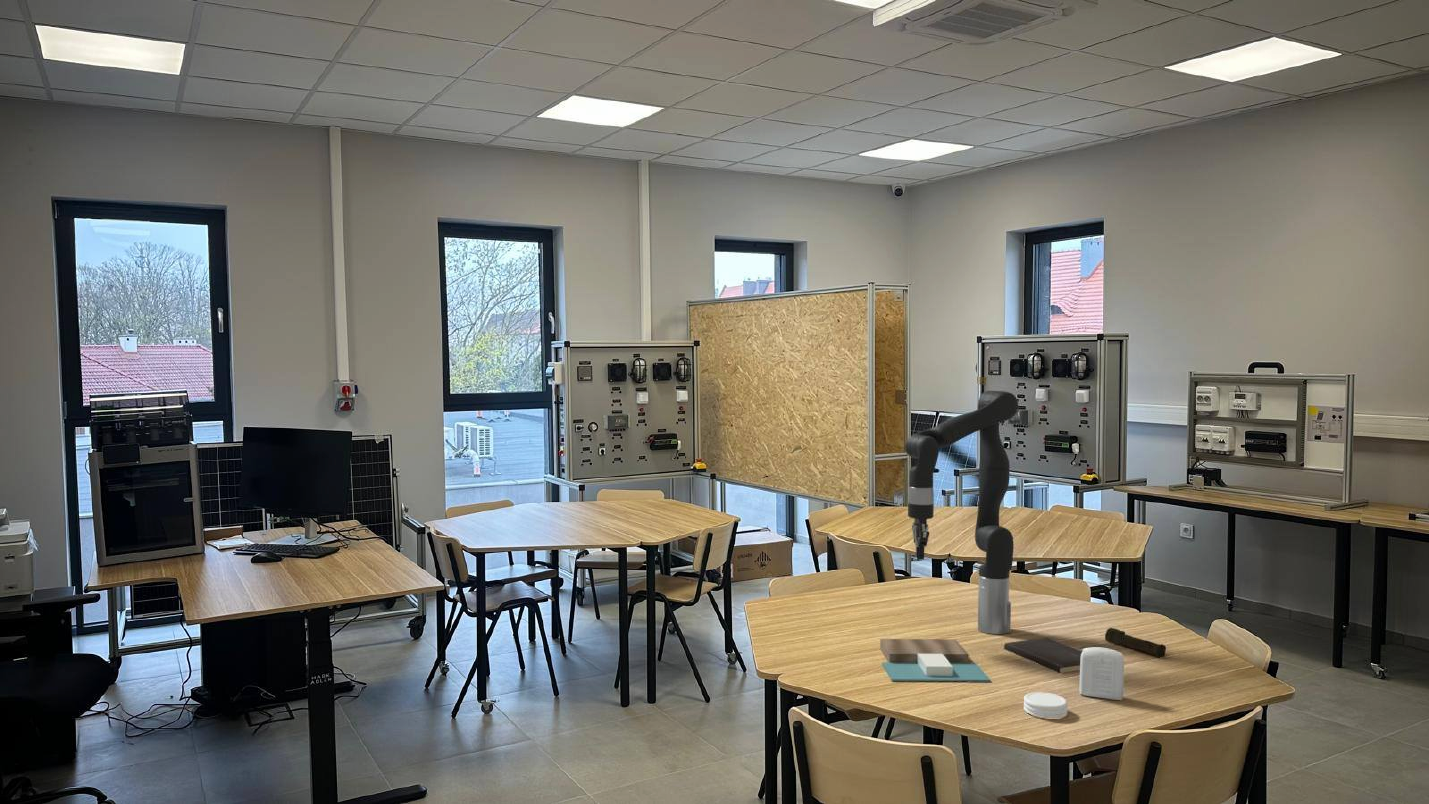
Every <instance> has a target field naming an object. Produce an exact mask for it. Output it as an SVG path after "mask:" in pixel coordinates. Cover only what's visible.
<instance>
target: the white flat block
mask: <svg viewBox="0 0 1429 804" xmlns="http://www.w3.org/2000/svg"><path fill="white" fill-rule="evenodd" d="M917 663H918V664H919V666H920V667H921V669H922V670H923V672H924V673H925V675H926V676H953V666H952V665H951V664H950V663H949V661H948V660H947V659H946V658H945V656H944V655H943V654H917Z"/></svg>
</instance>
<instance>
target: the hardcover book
mask: <svg viewBox="0 0 1429 804" xmlns="http://www.w3.org/2000/svg"><path fill="white" fill-rule="evenodd" d="M1003 649H1004V650H1006V651H1007V652H1010V653H1012V652H1013V654H1014V653H1015V654H1014V655H1017V656H1019V657H1021V658H1024V659H1025V660H1028V661H1031V662H1033V661H1034V662H1033V663H1035V662H1036V663H1035V664H1037V663H1038V665H1039V666H1042V667H1045V668H1047V669H1049V670H1051V669H1052V670H1051V671H1053V670H1054V672H1056V673H1057V674H1058V673H1059V674H1062V673H1068V672H1074V671H1080V658H1081V653H1082V652H1083V650H1080V649H1077V648H1075V647H1072V646H1070V645H1067V644H1065V643H1062V642H1059V641H1056V640H1054V639H1052V638H1049V637H1043V638H1036V639H1027V640H1019V641H1013V642H1011V641H1010V642H1005V644H1004V646H1003Z"/></svg>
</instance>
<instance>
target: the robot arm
mask: <svg viewBox="0 0 1429 804" xmlns="http://www.w3.org/2000/svg"><path fill="white" fill-rule="evenodd" d="M1018 409H1019V401H1018V399H1017V397H1016V396H1015V394H1013V393H1012V392H1009V391H1004V390H985V391H983V392H982V394H981V395H980V396H979V398H978V402H977V409H975V410H973V411H970V412H966V413H963V414H960V415H956V416H954V417H950V418H949V419H946V420H945V421H943V422H941V423H939V424H937V425H936V426H934V427H931V428H928V429H925V430H921V431H919V432H916V433H914V434H911V436H909V437H908V438H907V440H906V441H905V444H904V451H905V453H906V454H907V455H908V456H909V457H911V458H914V459H917V463H916V466H914V467H911V468H910V469H909V477H908V481H909V482H908V483H909V484H908V494H907V497H908V498H907V517H909V518H911V519H914V520H913V521H914V522H913V523H912V525H911V530H912V538H913V543H914V545H915V558H916V559H917V560H919V561H920V560H921V561H922V560H924V559H925V547H927V545H928V542H929V536H930V531H929V524H927V523H928V521H927V520H929V519H933V518H934V516H935V515H934V511H935V509H934V507H935V506H934V505H935V503H934V502H935V498H934V497H935V494H934V493H935V492H934V472H935V469H936V466H937V462H938V457H939V453H940V448H941V449H943V448H947V447H950V446H952V445H953V444H956V443H957V442H958V441H960V440H962V439H964V438H966V437H968V436H971V435H972V434H974V433H976V432H979V465H978V497H977V498H978V500H977V501H978V506H977V516H976V522H975V530H974V532H975V533H974V539H975V545H976V547H977V548H978V549H979V550H980V551H982V552H985V553H986V554H985V563H984V564H981V565H979V567H978V591H977V592H978V593H977V595H978V597H977V598H978V600H977V601H978V602H977V630H978V631H979V632H981V633H986V634H991V635H1003V634H1008V633H1009V634H1010V633H1011V628H1012V627H1011V624H1012V623H1011V622H1012V621H1011V620H1012V619H1011V618H1012V615H1011V614H1012V603H1011V601H1010V572H1011V570H1012V569H1013V568H1012V567H1013V561H1014V543H1015V542H1014V537H1013V533H1012V532H1011V530H1009V529H1008V528H1006V527H1004V526H1002V525H1001V526H1000V509H1001V504H1002V502H1003V500H1004V498H1005V496H1006V493H1007V491H1008V488H1009V486H1010V469H1011V468H1010V466H1011V465H1010V460H1009V456H1008V454H1007V451H1006V449H1005V447H1004V445H1003V442H1002V440H1001V436H1000V423H1002V422H1005V421H1009V420H1011V419H1013V417H1014V416H1016V414H1017V412H1018Z"/></svg>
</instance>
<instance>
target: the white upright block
mask: <svg viewBox="0 0 1429 804" xmlns="http://www.w3.org/2000/svg"><path fill="white" fill-rule="evenodd" d="M1082 651H1083V652H1082V653H1081V658H1080V670H1079V684H1078V685H1079V688H1078V693H1079V695H1081V694H1082V695H1081V696H1087V697H1093V698H1101V699H1107V700H1117V701H1123V699H1124V675H1125V661H1124V657H1123V656H1124V655H1123V653H1121V652H1119V651H1118V650H1114V649H1111V648H1107V647H1100V646H1099V647H1098V646H1094V647H1093V646H1091V647H1086V648H1082Z"/></svg>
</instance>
